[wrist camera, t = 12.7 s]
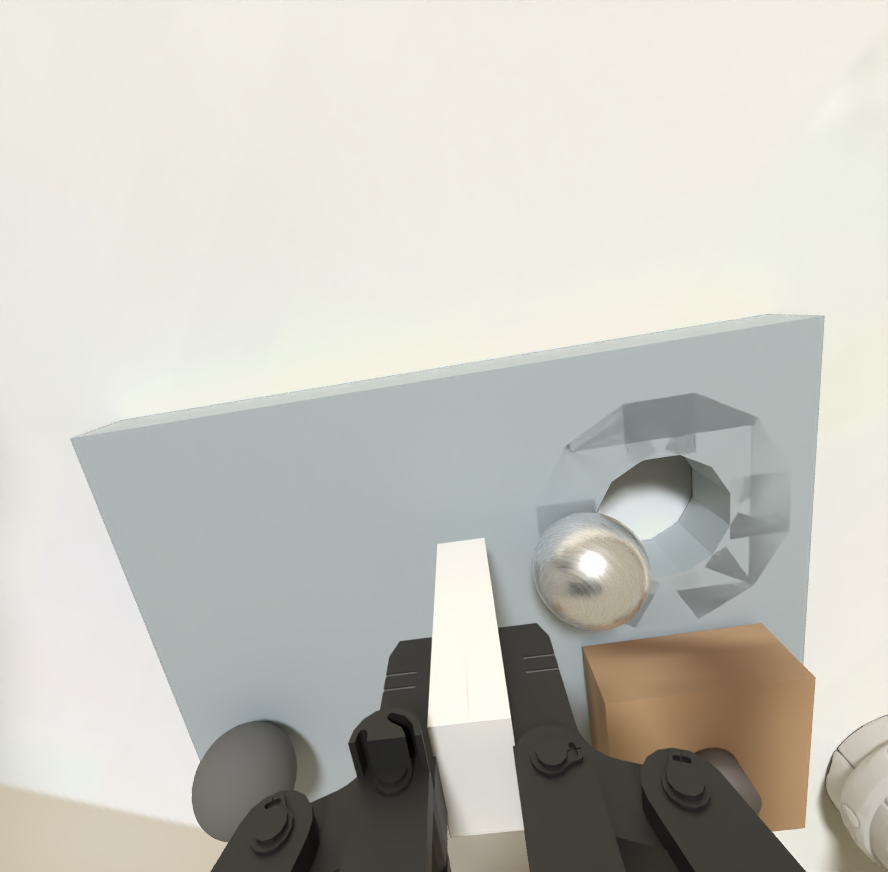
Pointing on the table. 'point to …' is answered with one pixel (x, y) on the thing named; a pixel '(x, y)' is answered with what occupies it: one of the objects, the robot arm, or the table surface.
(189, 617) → the board
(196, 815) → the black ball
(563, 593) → the steel ball
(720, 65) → the table surface
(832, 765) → the mug
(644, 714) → the cover
